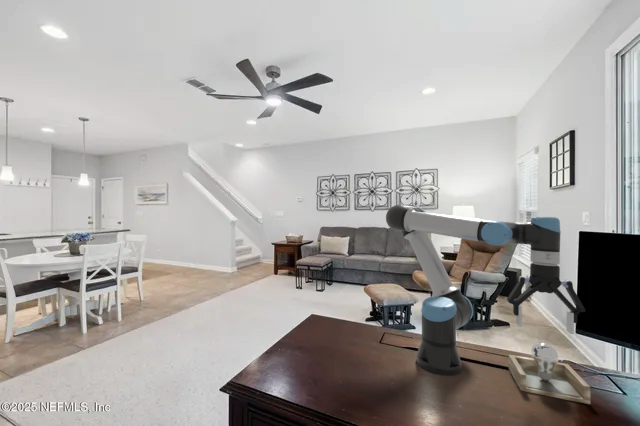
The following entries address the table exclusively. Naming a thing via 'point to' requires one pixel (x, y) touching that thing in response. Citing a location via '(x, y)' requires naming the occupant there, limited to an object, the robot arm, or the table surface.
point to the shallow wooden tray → (560, 385)
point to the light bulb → (544, 359)
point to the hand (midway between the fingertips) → (543, 328)
